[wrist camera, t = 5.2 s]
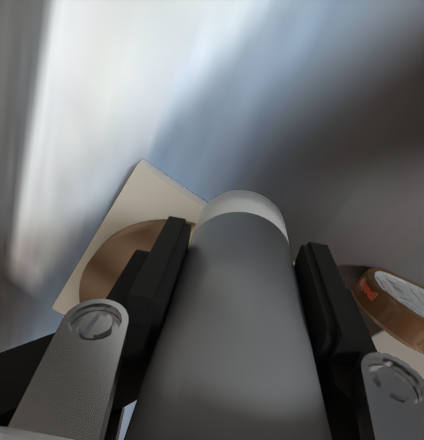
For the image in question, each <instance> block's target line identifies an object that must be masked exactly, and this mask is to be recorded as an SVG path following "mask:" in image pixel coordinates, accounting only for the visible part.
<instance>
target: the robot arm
mask: <svg viewBox="0 0 424 440" xmlns="http://www.w3.org/2000/svg"><path fill="white" fill-rule="evenodd" d="M190 233H191V224H187V223H186V219H183V218H178V217H173V216H169V217H168V219H167V221H166V223H165V225H164V226H163V228H162V230H161V232H160V234H159V236H158V238H157V240H156V242H155V243H154V245H153V247H152V249H151V251H150V252H149V251H144V250H139V249H137V250H136V251H135V252H134V253H133V255H132V257H131V258H130V260H129V261H128V263H127V265H126V266H125V268H124V270H123V271H122V273H121V275H120V276H119V278H118V279H117V281H116V283H115V284H114V286H113V288H112V289H111V291H110V292H109V294H108V296H107V297H106V299H93V300H88V301H84V302H82V303H80V304H77V305H75V306H74V307H73V308H71V309H70V310H69V311H68V312H67V313H66V314H65V316H64V317H63V319H62V321H61V323H60V325H59V327H58V329H57V331H56V332H55V333H53V334H50V335H47V336H45V337H42V338H39V339H37V340H34V341H31V342H29V343H26V344H23V345H20V346H18V347H15V348H12V349H10V350H7V351H4V352H2V353H0V440H118V439H119V434H120V429H121V424H122V419H123V414H124V407H125V406H127V405H128V404H130V403H132V402H134V401H135V400H137V399H138V396H139V393H140V390H141V387H142V384H143V381H144V378H145V375H146V372H147V369H148V366H149V363H150V360H151V357H152V354H153V351H154V348H155V345H156V342H157V340H158V338H159V335H160V332H161V329H162V326H163V323H164V320H165V317H166V314H167V311H168V308H169V305H170V302H171V299H172V296H173V293H174V290H175V287H176V284H177V281H178V278H179V275H180V272H181V269H182V266H183V263H184V260H185V257H186V254H187V251H188V247H189V240H190ZM294 268H295V273H296V277H297V282H298V287H299V291H300V296H301V300H302V305H303V309H304V314H305V319H306V323H307V328H308V332H309V337H310V341H311V346H312V351H313V355H314V360H315V364H316V369H317V373H318V378H319V383H320V387H321V392H322V396H323V401H324V405H325V410H326V415H327V419H328V424H329V428H330V433H331V437H332V440H424V379H423V378H422V377H421V376H420V375H419V374H418V372H417V371H415V370H414V369H413V368H412V367H411V366H409V365H408V364H407V363H405V362H403V361H402V360H400V359H398V358H396V357H394V356H391V355H389V354H385V353H380V352H377V350H376V348H375V345H374V343H373V341H372V339H371V336H370V334H369V332H368V330H367V327H366V325H365V323H364V321H363V318H362V316H361V314H360V312H359V309H358V307H357V305H356V302H355V300H354V298H353V296H352V293H351V292H350V290H348V289H346V288H345V285H344V283H343V281H342V278H341V276H340V274H339V271H338V269H337V267H336V264H335V262H334V260H333V257H332V255H331V253H330V250H329V248H328V246H327V245H323V244H318V243H313V242H309V243H308V244H307V246H305V245H302V246H301V247H300V250H299V253H298V256H297V259H296V262H295V265H294Z"/></svg>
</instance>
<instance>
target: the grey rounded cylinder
mask: <svg viewBox="0 0 424 440" xmlns="http://www.w3.org/2000/svg"><path fill="white" fill-rule="evenodd" d="M124 440H332V437H331V433H330V428H329V424H328V419H327V415H326V410H325V405H324V401H323V396H322V392H321V387H320V383H319V378H318V373H317V369H316V364H315V360H314V355H313V351H312V346H311V341H310V337H309V332H308V328H307V323H306V319H305V314H304V309H303V305H302V300H301V296H300V291H299V287H298V282H297V277H296V273H295V268H294V264H293V259H292V255H291V250H290V245H289V241H288V236H287V232H286V227H285V223H284V219H283V216H282V214H281V212H280V211H279V209H278V208H277V206H276V205H275V204H274V203H273V202H272V201H270V200H269V199H268V198H266V197H265V196H263V195H261V194H258V193H255V192H252V191H247V190H233V191H228V192H225V193H222V194H220V195H218V196H216V197H214V198H213V199H211V200H210V201H209V202H208V203H207V204H206V205H205V206H204V207H203V209H202V210H201V212H200V214H199V217H198V220H197V223H196V226H195V229H194V232H193V235H192V238H191V241H190V244H189V247H188V251H187V254H186V257H185V260H184V263H183V266H182V269H181V272H180V275H179V278H178V281H177V284H176V287H175V290H174V293H173V296H172V299H171V302H170V305H169V308H168V311H167V314H166V317H165V320H164V323H163V326H162V329H161V332H160V335H159V338H158V340H157V342H156V345H155V348H154V351H153V354H152V357H151V360H150V363H149V366H148V369H147V372H146V375H145V378H144V381H143V384H142V387H141V390H140V393H139V396H138V399H137V402H136V405H135V408H134V411H133V414H132V417H131V420H130V423H129V426H128V429H127V432H126V435H125V438H124Z"/></svg>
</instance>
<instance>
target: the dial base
mask: <svg viewBox="0 0 424 440" xmlns="http://www.w3.org/2000/svg"><path fill="white" fill-rule="evenodd" d="M206 204H207V202H205V201H204V200H203V199H201V198H200V197H198V196H197V195H195V194H194V193H192V192H191V191H189V190H188V189H186V188H185V187H183V186H182V185H180V184H179V183H178V182H176V181H175V180H173V179H172V178H170V177H169V176H167V175H166V174H164V173H163V172H161V171H160V170H158V169H157V168H155V167H154V166H152V165H151V164H150V163H148V162H147V161H145V160H144V159H142V160H141V161H140V162H139V163H138V164H137V166H136V167H135V169H134V171H133V172H132V174H131V176H130V177H129V179H128V181H127V182H126V184H125V186H124V187H123V189H122V191H121V192H120V194H119V196H118V197H117V199H116V201H115V202H114V204H113V206H112V207H111V209H110V211H109V213H108V214H107V216H106V218H105V219H104V221H103V223H102V224H101V226H100V228H99V229H98V231H97V233H96V234H95V236H94V238H93V239H92V241H91V243H90V244H89V246H88V248H87V249H86V251H85V253H84V254H83V256H82V258H81V259H80V261H79V263H78V264H77V266H76V268H75V269H74V271H73V273H72V274H71V276H70V278H69V279H68V281H67V283H66V285H65V286H64V288H63V290H62V291H61V293H60V295H59V296H58V298H57V300H56V301H55V303H54V305H53V306H52V309H53V310H55V311H57V312H59V313H61V314H63V315H64V316H65V314H66V313H67V312H68V311H69V310H70V309H71V308H73V307H74V306H75V305H77V304H80V302H79V286H80V280H81V277H82V273H83V271H84V269H85V267H86V265H87V263H88V262H89V261H90V259H91V258H92V257H93V255H94V254H95V253H96V251H97V250H98V249H99V248H100V247H101V245H102V244H103V243H104V242H105V241H106V240H107V239H108V238H109V237H111V236H112V235H114V234H115V233H117V232H118V231H120V230H122V229H124V228H126V227H128V226H130V225H133V224H136V223H139V222H144V221H149V220H159V219H168V217H169V216H173V217H178V218H183V219H186V221H188V222H193V223H197V220H198V217H199V214H200V212H201V210H202V209H203V207H204V206H205V205H206ZM293 264H294V265H295V262H294V261H293Z"/></svg>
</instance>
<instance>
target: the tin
mask: <svg viewBox="0 0 424 440" xmlns="http://www.w3.org/2000/svg"><path fill="white" fill-rule="evenodd" d="M351 293H352V295H353V297H354V299H355V301H356V302H357V304H358V305H359V306H360V308H361V309H362V310H363V311H364V312H365V313H366V314H367V315H368V316H369V317H370V318H371V319H372V320H373V321H374V322H375V323H376V324H377V325H378V326H380V327H381V328H382V329H383V330H385V331H386V332H387V333H389V334H390V335H391V336H393V337H394V338H395V339H397V340H398V341H400V342H402V343H403V344H405V345H407V346H409V347H410V348H412V349H414V350H416V351H418V352H421V353H423V354H424V288H423V287H421V286H419V285H416V284H414V283H412V282H410V281H408V280H406V279H404V278H402V277H400V276H398V275H396V274H393V273H391V272H389V271H387V270H384V269H381V268H376V267H371V268H369V269H368V270H366V271H365V272H364V274H363V275H362V276H361V277H360V279H359V280H358V281H357V282H356V283H355V284H353V285H352V287H351Z"/></svg>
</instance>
